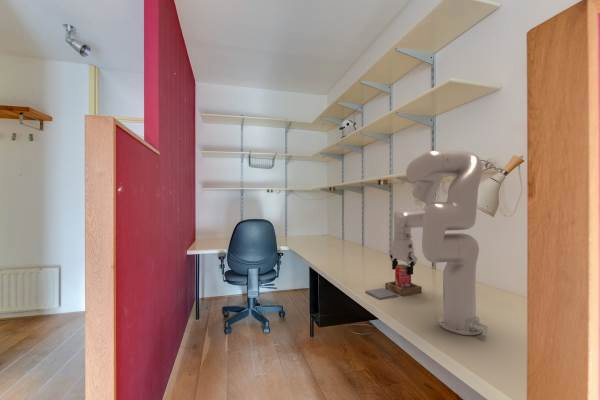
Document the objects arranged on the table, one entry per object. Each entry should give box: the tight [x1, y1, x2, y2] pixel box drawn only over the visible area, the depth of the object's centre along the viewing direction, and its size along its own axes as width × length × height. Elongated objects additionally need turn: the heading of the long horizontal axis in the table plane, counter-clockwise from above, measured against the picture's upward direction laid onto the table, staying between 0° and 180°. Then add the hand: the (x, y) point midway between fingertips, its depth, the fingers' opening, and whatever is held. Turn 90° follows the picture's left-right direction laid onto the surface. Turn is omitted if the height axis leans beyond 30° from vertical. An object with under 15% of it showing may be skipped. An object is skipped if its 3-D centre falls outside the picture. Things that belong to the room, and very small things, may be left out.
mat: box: [365, 287, 399, 301], centre depth 123 cm, size 10×10×1 cm
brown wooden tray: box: [384, 280, 423, 297], centre depth 128 cm, size 11×11×3 cm
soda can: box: [394, 263, 412, 288], centre depth 128 cm, size 7×7×12 cm
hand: (402, 271), depth 128 cm, fingers open, 9 cm apart
